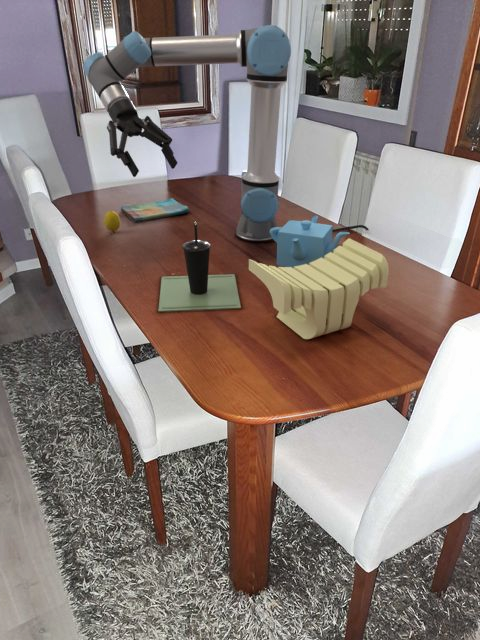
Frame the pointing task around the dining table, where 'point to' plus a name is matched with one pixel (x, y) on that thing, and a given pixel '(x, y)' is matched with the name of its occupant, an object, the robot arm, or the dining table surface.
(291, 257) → the teakettle
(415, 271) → the dining table surface
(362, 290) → the slatted curved stool
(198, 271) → the drinking cup
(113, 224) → the lemon
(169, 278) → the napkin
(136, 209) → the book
